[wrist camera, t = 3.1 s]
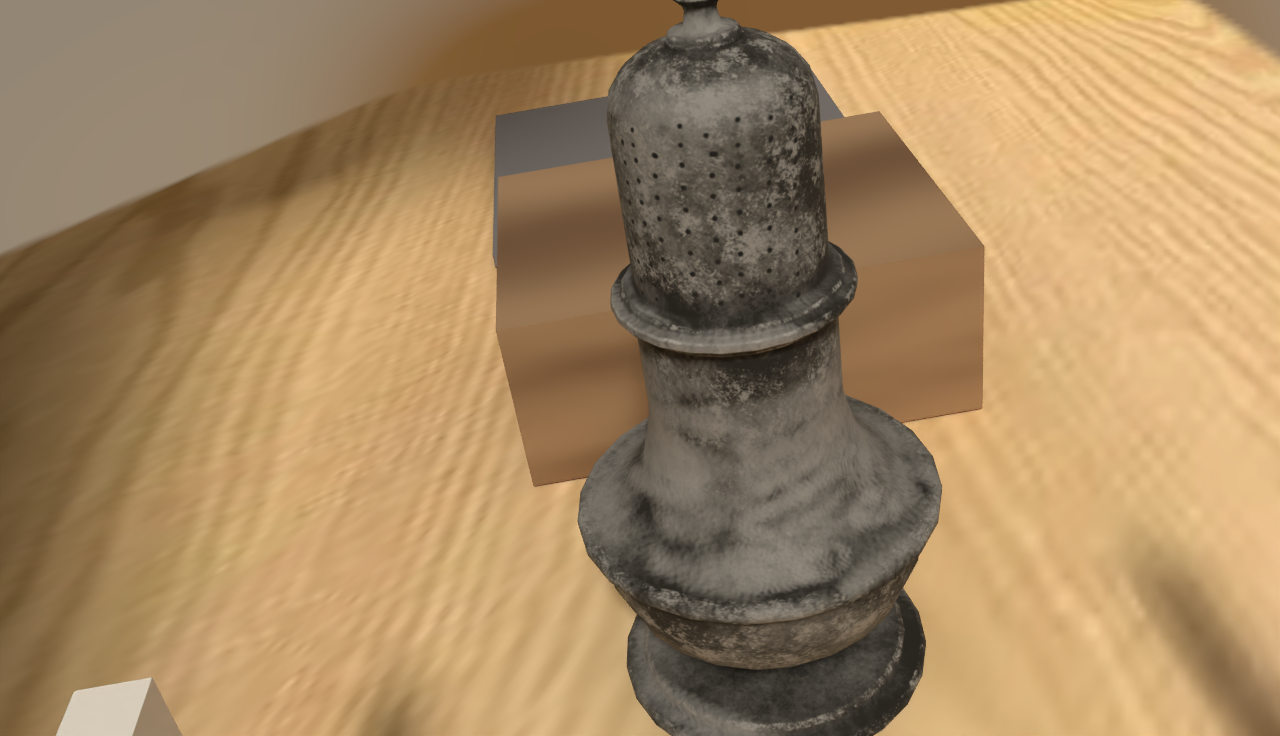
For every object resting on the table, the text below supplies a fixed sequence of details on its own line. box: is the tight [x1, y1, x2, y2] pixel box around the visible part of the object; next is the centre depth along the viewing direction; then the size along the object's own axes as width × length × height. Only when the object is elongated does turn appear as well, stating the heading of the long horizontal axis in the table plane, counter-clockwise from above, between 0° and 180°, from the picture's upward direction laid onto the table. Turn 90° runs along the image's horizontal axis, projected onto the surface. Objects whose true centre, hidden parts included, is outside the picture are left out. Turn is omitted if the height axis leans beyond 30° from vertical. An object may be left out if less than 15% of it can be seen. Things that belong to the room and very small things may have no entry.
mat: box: [493, 70, 844, 267], centre depth 40 cm, size 12×12×1 cm
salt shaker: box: [578, 0, 942, 736], centre depth 18 cm, size 6×6×12 cm
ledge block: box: [496, 111, 984, 486], centre depth 29 cm, size 8×10×4 cm
